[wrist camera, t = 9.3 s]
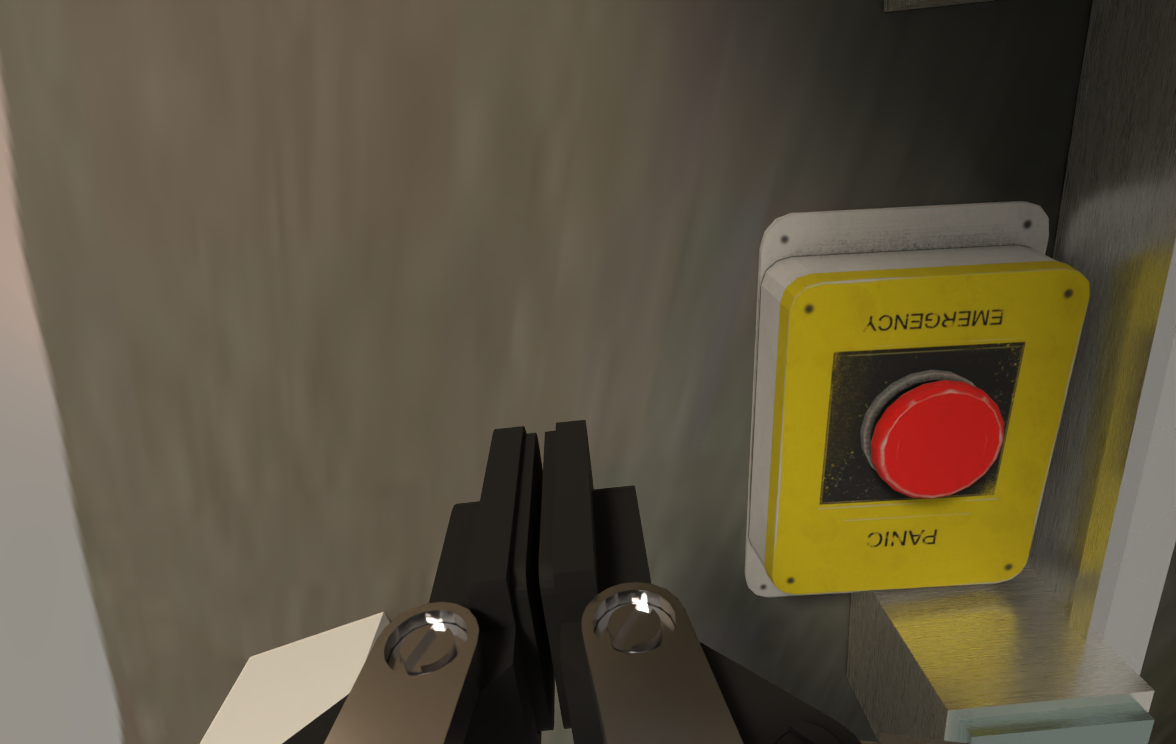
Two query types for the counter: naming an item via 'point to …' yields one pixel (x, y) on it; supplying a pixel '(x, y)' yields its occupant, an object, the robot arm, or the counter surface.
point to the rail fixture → (1070, 456)
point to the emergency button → (905, 395)
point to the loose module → (294, 684)
